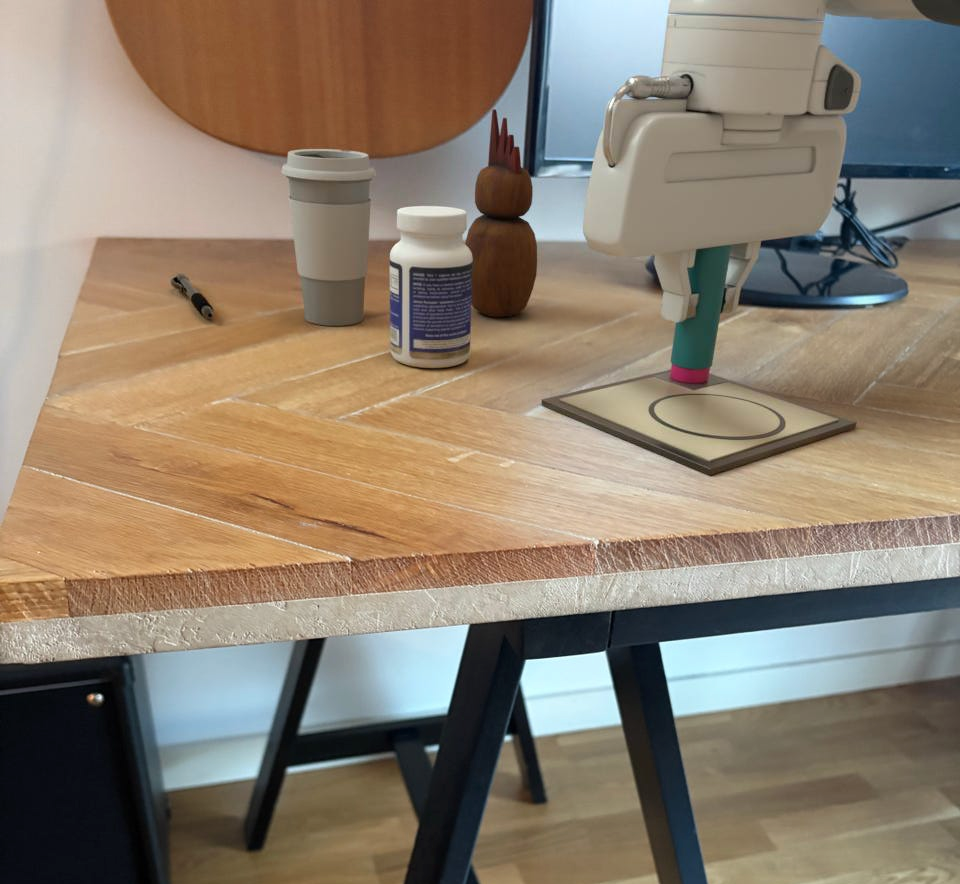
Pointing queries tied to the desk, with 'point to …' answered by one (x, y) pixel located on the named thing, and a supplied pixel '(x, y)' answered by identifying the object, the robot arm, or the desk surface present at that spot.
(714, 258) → the dot marker
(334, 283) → the cup
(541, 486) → the desk surface
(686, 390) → the board
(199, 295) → the pen
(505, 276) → the wooden figurine
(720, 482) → the desk surface
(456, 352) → the pill bottle
